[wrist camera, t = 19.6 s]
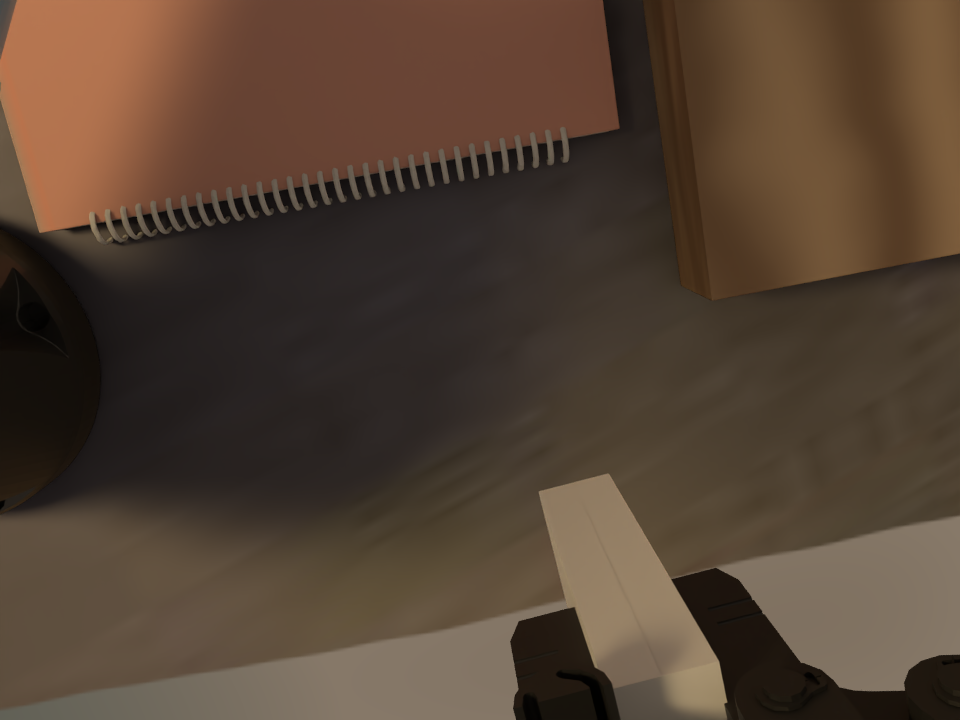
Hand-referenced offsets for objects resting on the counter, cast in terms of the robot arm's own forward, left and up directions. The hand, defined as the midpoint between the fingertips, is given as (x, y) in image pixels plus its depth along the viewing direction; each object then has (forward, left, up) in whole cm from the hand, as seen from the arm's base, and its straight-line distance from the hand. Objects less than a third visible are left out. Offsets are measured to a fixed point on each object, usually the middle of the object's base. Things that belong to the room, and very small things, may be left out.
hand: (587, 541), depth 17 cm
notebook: (-14, +10, -25) cm, 30 cm away
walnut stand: (+9, +15, -24) cm, 30 cm away
